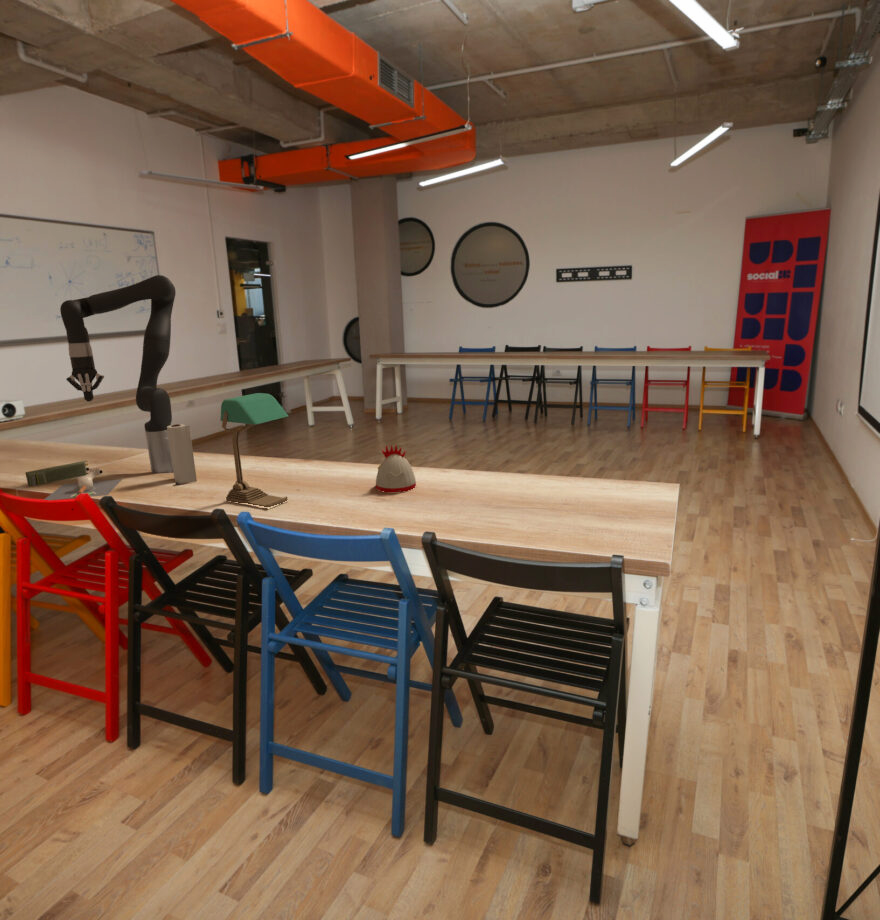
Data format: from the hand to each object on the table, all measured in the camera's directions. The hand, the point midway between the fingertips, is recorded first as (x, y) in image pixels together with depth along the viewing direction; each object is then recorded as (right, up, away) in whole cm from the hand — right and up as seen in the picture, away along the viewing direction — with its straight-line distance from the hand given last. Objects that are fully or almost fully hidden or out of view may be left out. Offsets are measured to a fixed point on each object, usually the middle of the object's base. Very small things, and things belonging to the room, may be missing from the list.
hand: (89, 401), depth 235 cm
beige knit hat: (+118, -32, -21) cm, 124 cm away
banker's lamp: (+74, -36, -32) cm, 89 cm away
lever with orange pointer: (+8, -32, -14) cm, 36 cm away
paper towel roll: (+39, -31, -7) cm, 50 cm away
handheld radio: (-8, -31, -1) cm, 32 cm away
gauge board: (+8, -34, -16) cm, 38 cm away
